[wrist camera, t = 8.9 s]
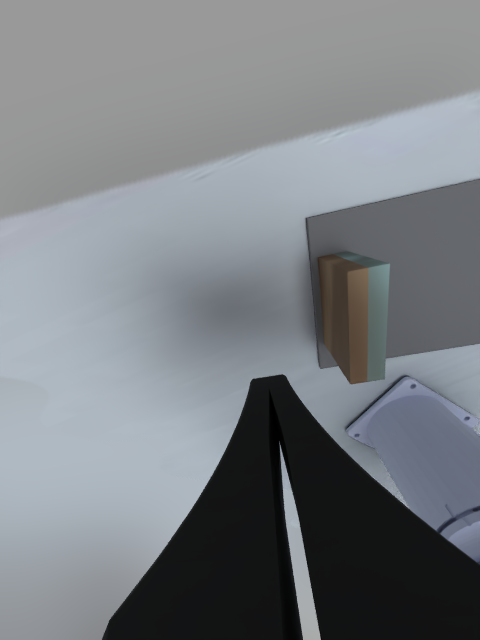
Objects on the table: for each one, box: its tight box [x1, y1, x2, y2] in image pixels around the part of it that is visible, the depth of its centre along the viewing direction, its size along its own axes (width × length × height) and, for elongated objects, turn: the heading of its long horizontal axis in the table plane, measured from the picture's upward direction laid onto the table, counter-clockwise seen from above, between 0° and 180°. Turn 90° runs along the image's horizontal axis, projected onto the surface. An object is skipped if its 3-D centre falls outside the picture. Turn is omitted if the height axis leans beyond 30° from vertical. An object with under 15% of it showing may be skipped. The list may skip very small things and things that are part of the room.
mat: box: [306, 179, 480, 369], centre depth 17 cm, size 16×12×1 cm
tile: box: [318, 251, 390, 384], centre depth 15 cm, size 2×7×5 cm, turn 12°
